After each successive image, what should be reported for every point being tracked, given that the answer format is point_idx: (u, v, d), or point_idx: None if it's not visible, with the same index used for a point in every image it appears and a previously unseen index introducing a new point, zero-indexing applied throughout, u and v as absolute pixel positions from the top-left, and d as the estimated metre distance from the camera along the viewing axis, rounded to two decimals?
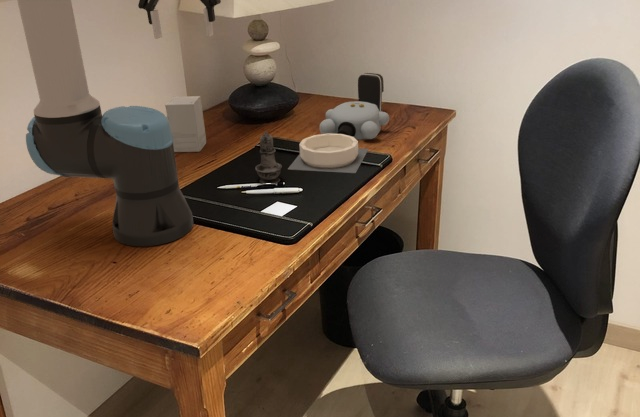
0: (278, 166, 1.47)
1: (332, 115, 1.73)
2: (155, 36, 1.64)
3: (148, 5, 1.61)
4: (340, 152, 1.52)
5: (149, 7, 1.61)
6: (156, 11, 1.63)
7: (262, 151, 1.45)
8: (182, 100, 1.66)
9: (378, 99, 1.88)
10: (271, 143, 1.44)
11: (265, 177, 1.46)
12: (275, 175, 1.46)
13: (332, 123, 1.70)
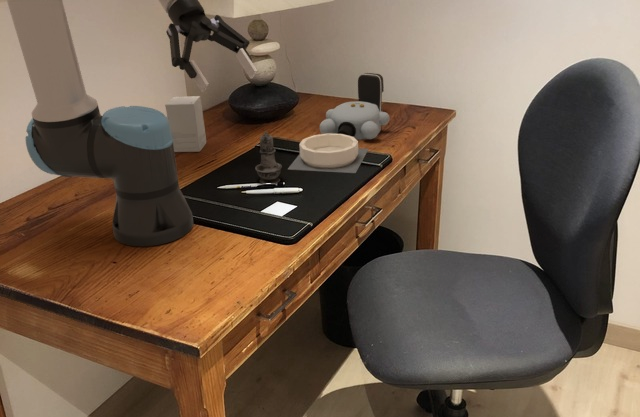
0: (278, 166, 1.47)
1: (332, 115, 1.73)
2: (206, 82, 1.42)
3: (186, 55, 1.43)
4: (340, 152, 1.52)
5: (187, 57, 1.43)
6: None
7: (262, 151, 1.45)
8: (182, 100, 1.66)
9: (378, 99, 1.88)
10: (271, 143, 1.44)
11: (265, 177, 1.46)
12: (275, 175, 1.46)
13: (332, 123, 1.70)
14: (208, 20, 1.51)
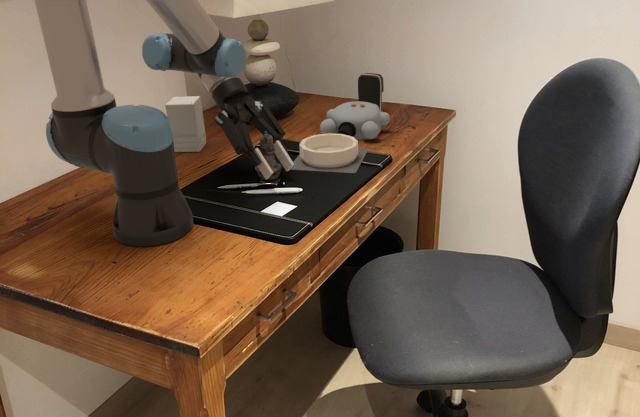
0: (278, 166, 1.47)
1: (333, 115, 1.73)
2: (270, 171, 1.42)
3: (249, 144, 1.43)
4: (340, 152, 1.52)
5: (251, 145, 1.43)
6: None
7: (262, 151, 1.45)
8: (182, 100, 1.66)
9: (378, 99, 1.88)
10: (271, 143, 1.44)
11: None
12: (275, 175, 1.46)
13: (332, 123, 1.70)
14: (252, 101, 1.49)
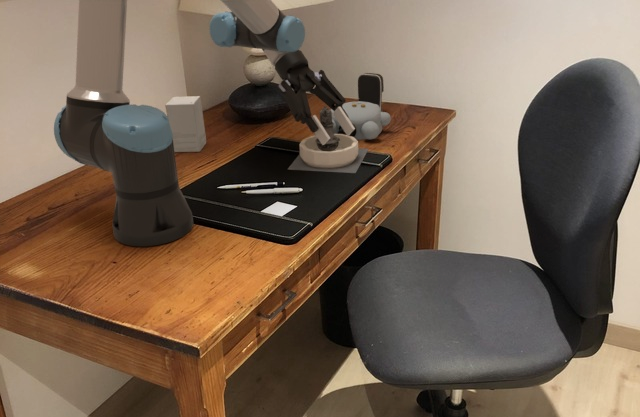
0: (336, 138, 1.57)
1: (333, 115, 1.73)
2: (327, 136, 1.51)
3: (307, 111, 1.52)
4: (340, 152, 1.52)
5: (309, 112, 1.52)
6: None
7: (322, 124, 1.55)
8: (182, 100, 1.66)
9: (378, 99, 1.88)
10: (330, 116, 1.54)
11: (325, 148, 1.56)
12: (335, 147, 1.56)
13: None
14: (312, 72, 1.58)
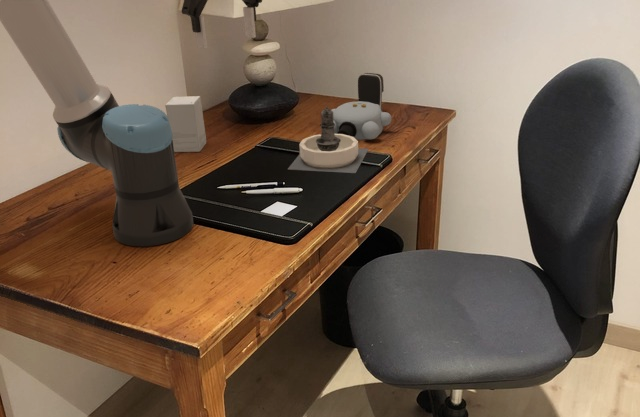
0: (337, 139, 1.57)
1: (334, 115, 1.73)
2: (205, 45, 1.43)
3: (198, 10, 1.39)
4: (340, 152, 1.52)
5: (199, 12, 1.40)
6: None
7: (323, 125, 1.55)
8: (182, 100, 1.66)
9: (378, 99, 1.88)
10: (332, 117, 1.54)
11: (325, 149, 1.56)
12: (335, 148, 1.56)
13: None
14: None
